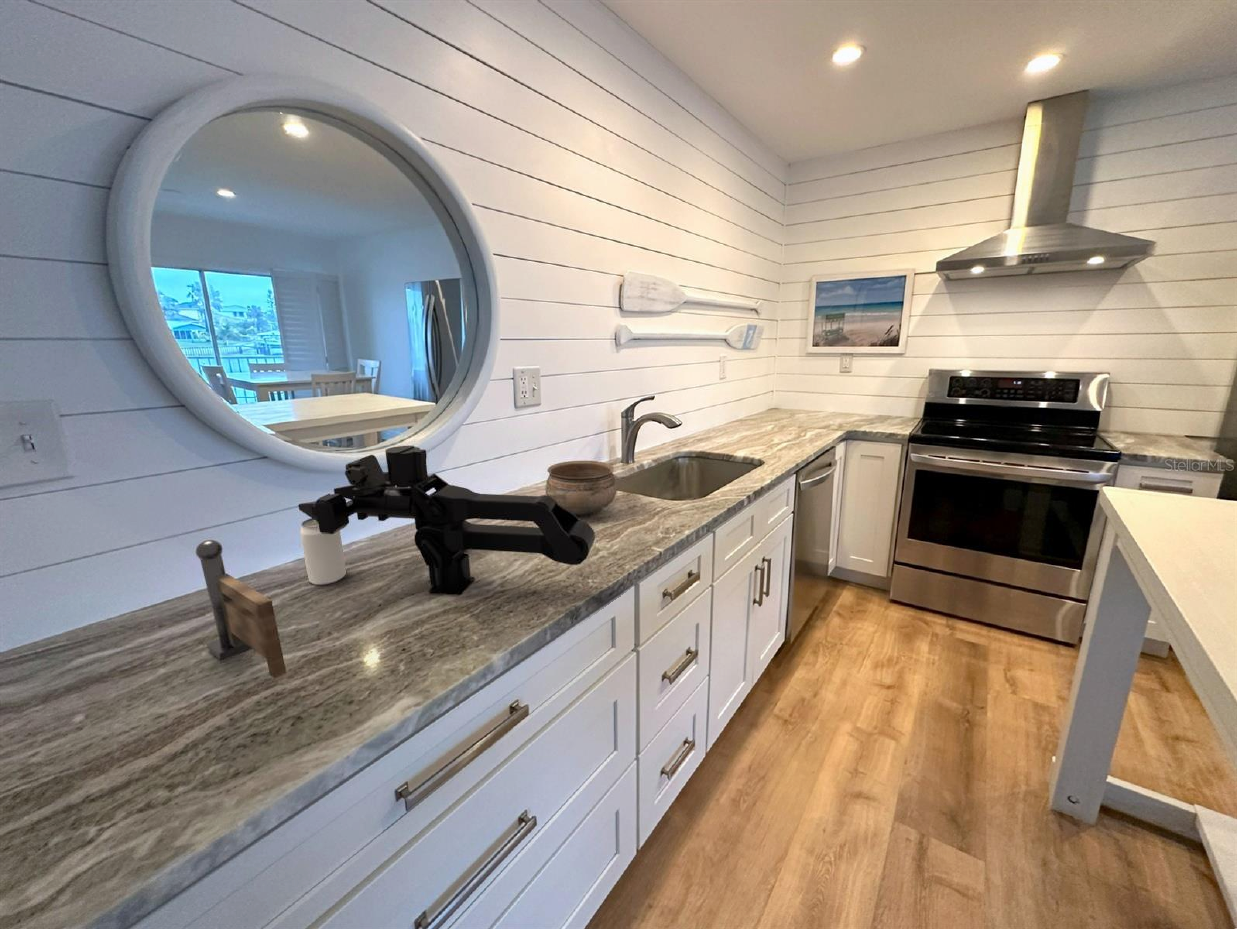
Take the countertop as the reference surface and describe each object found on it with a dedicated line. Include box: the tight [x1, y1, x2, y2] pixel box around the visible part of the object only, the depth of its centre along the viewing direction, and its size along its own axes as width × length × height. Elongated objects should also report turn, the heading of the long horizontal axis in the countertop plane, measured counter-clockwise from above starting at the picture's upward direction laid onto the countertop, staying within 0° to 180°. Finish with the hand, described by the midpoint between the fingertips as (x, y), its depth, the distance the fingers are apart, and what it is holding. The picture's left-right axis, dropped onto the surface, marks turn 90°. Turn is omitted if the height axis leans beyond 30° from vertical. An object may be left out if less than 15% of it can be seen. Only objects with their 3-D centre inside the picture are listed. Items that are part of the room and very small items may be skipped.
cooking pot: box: [545, 460, 618, 518], centre depth 132 cm, size 25×19×12 cm
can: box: [300, 517, 347, 586], centre depth 96 cm, size 6×6×12 cm
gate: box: [215, 572, 287, 679], centre depth 69 cm, size 14×1×11 cm, turn 57°
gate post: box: [195, 539, 252, 662], centre depth 73 cm, size 4×4×18 cm
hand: (317, 498), depth 93 cm, fingers open, 9 cm apart
